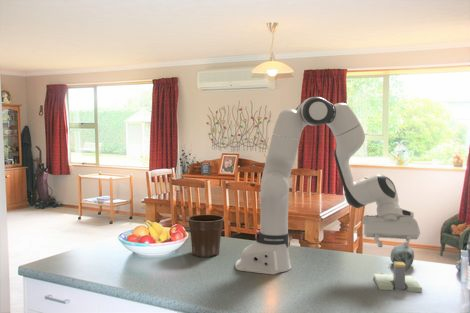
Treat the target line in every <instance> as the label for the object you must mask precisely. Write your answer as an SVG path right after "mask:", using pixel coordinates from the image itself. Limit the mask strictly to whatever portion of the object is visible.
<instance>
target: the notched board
mask: <svg viewBox="0 0 470 313" xmlns="http://www.w3.org/2000/svg"><path fill="white" fill-rule="evenodd" d="M373 279H374V281H375V283H376V285H377V287H378V289H379V290H382V291H394V287H393V274H385V273H373ZM422 288H423V287H422V286H421V285H420V283H419V282H418V281H417V279H416V278H415V277H414V275H406V274H405V289H406V290H407V292H418V293H422V292H423V289H422Z"/></svg>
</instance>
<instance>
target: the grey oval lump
mask: <svg viewBox="0 0 470 313" xmlns="http://www.w3.org/2000/svg"><path fill="white" fill-rule="evenodd" d="M414 258H415V252H414V250H413V248H411V247H410V246H409V248H408V249H405V248H404V243H401V244H397V245H395V246H393V248H392V250H391V252H390V261H391V262H392V263H393V264H394V261H395V262H404V263H405V265H406V266H405V270H408V269H410V268H411V267H412V265H413V264H414V263H413V262H414V260H415V259H414Z"/></svg>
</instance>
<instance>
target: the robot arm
mask: <svg viewBox="0 0 470 313" xmlns="http://www.w3.org/2000/svg"><path fill="white" fill-rule="evenodd" d="M323 125H326V126H328V127H329V129H330V130H331V133H332V135H333V137H334V139H335V144H336V147H335V149H334V150H333V151H334V152H333V155H334V157H333V158H334V161H335V164H336V167H337V171H338V175H339V177H340V180H341V184H342V187H343V191H344V192H343V193H344V197H345V200H346V203H347V204H348V205H349V206H351V207H352V208H353V207H354V208H355V209H360V208H363V207H365V206H367V205H369V204H372V203H376V215H374V214H365V215H364V216H362V224H363V225H364V226H363V235H364V237H366V238H373V240H374V241H375V243H376V244H377V248H383V240H382V241H381V240H380V238H381V239H395V240H396V239H397V240H398V239H399V240H405V242H404V243H403V245H404V248H405V249H408V248H409V247H410V243H411V240H418V239H419V238H420V235H421V232H420V228H419V226H420V225H419V224H418V221H417V220H416V219H415V216H414V212H413V211H410V210H407V209H403V208H401V207H400V205H399V193H398V190H397V188H396V186H395V183H394V181H393V180H391V178H389V177H387V176H386V175H383V174H376V175H373V176H370V177H368V178H365V179H363V180H360V181H355V180H354V176H353V173H352V171H351V167H350V159H351V158H352V156H354V155H355V153H357V152H358V151H359V150H360V149H361V148H362V146H363V144H364V143H365V139H366V133H365V130H364V128H363V126H362V123H361V122H360V120H359V118H358V117H357V115H356V114H355V112H354V111H353V109H352V108H351V107H350V106H349V105H348V104H347V103H345V102H338V103H335V104H334V103H331V102H330V101H328V100H327V99H325V98H323V97H321V96H311V97H308V98H306V99H304V100H303V101H302V102H301V103H300V104H299V105H298V106H297V107H296V108H295V109H293V108H286V109H283V110H282V111H280V113H279V115H277V119H276V121H275V124H274V127H273V131H272V135H271V138H270V143H269V146H268V147H269V148H268V151H267V155H266V160H265V164H264V167H263V172H262V175H261V180H260V204H259V205H260V210H259V211H260V213H259V214H260V216H259V217H260V218H259V219H260V220H259V222H260V227H259V230H258V229H256V230H255V232H254V241H253V242H252V243H250V244H249V245H248V246H246V247H245V248H244V249H243V250H242V252H241V255H240V258H239V259H237V260H236V262H235V265H234V266H235V267H234V268H235V269H236V270H237V271H240V272H241V271H242V272H248V273H256V274H257V273H258V274H265V275H276V274H279V273H284V272H288V271H290V270H291V269H292V265H291V260H290V254H289V252H290V251H289V247H290V234H289V230H288V229H289V206H290V205H289V204H290V181H289V180H290V178H291V173H292V170H293V166H294V164H295V160H296V158H297V153H298V149H299V145H300V140H301V136H302V133H303V130H304V129H305V127H306V126H311V127H312V126H314V127H315V126H323Z"/></svg>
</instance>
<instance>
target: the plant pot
mask: <svg viewBox="0 0 470 313" xmlns="http://www.w3.org/2000/svg"><path fill="white" fill-rule="evenodd" d="M224 220H225V217H224V216H223V215H219V214H195V215H190V216H188V217H187V221H188V228H189V229H190V230H189V231H190V232H189V233H190V240H191V243H190V244H191V253H192V255H195V256H196V257H201V258H208V257H213V256H217V255H219V254H220V249H221V240H222V238H221V236H222V230H223V229H222V228H223V224H224Z"/></svg>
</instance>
